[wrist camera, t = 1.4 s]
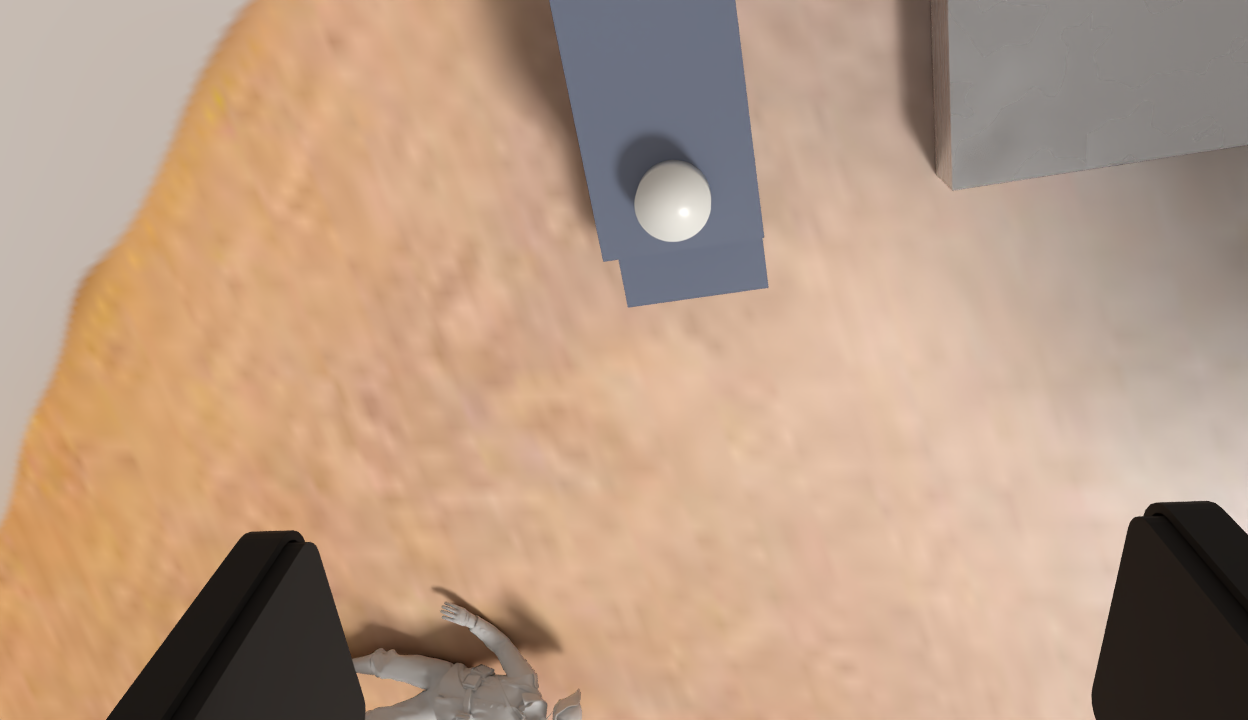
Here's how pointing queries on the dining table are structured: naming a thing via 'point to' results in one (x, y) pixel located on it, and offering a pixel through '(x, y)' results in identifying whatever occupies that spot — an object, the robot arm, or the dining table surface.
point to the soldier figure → (465, 682)
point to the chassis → (1083, 84)
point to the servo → (665, 143)
